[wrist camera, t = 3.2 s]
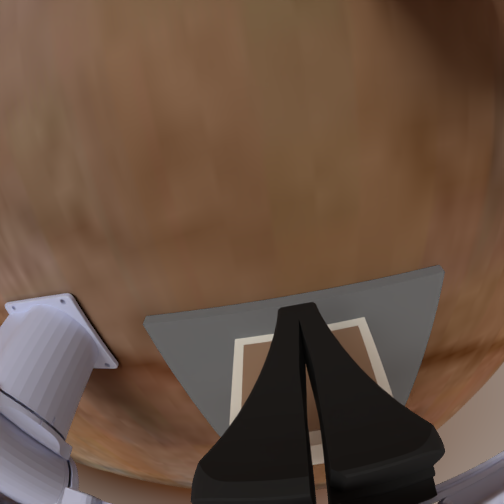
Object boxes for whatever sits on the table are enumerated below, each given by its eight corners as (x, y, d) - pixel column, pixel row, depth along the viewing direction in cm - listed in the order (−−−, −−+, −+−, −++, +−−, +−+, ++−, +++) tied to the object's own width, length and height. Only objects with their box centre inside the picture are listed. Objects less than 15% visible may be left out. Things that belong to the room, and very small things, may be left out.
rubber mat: (220, 430, 28) (220, 436, 27) (146, 316, 19) (142, 324, 18) (402, 401, 26) (404, 406, 25) (439, 264, 17) (444, 271, 16)
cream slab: (246, 369, 20) (244, 470, 14) (234, 337, 19) (226, 451, 12) (362, 350, 20) (389, 447, 13) (364, 314, 18) (402, 423, 11)
